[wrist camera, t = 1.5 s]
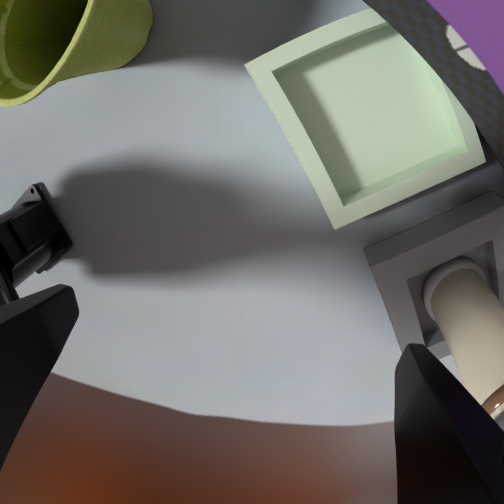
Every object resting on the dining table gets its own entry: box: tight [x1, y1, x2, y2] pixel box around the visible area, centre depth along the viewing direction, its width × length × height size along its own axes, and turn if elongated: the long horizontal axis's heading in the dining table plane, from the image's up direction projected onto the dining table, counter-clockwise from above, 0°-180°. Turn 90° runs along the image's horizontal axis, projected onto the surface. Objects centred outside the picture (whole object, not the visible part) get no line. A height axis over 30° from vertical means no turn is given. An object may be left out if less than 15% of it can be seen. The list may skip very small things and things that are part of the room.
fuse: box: [422, 255, 504, 431], centre depth 13 cm, size 5×5×13 cm
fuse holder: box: [364, 191, 504, 359], centre depth 19 cm, size 10×10×2 cm
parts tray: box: [244, 8, 486, 230], centre depth 15 cm, size 10×10×2 cm
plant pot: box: [0, 0, 153, 107], centre depth 12 cm, size 9×9×9 cm
